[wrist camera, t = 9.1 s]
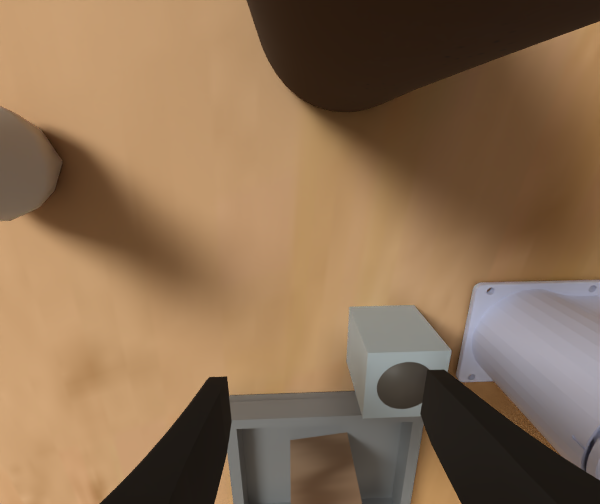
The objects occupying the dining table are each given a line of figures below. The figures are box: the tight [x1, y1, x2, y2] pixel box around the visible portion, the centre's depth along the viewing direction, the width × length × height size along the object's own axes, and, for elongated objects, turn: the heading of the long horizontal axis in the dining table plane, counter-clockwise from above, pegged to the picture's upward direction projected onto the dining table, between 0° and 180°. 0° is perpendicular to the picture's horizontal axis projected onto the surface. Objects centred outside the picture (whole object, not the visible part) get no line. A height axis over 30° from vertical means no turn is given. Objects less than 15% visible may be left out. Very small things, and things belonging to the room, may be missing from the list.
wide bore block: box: [347, 305, 452, 419], centre depth 19 cm, size 4×4×5 cm
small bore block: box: [290, 432, 362, 504], centre depth 21 cm, size 4×4×5 cm
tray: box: [227, 391, 424, 504], centre depth 23 cm, size 14×12×2 cm
